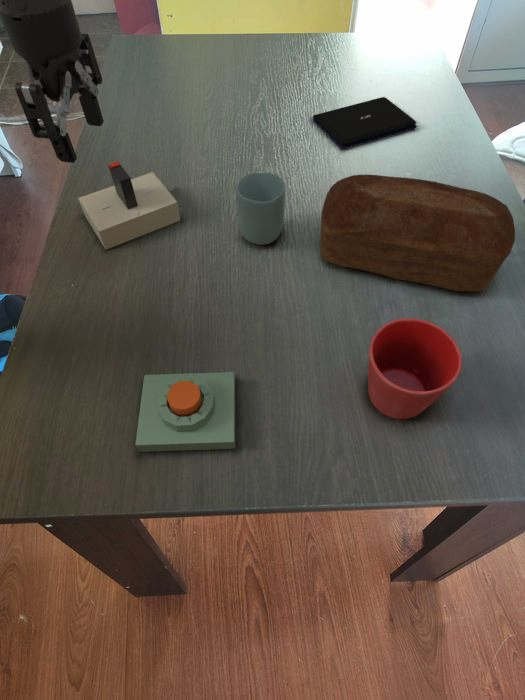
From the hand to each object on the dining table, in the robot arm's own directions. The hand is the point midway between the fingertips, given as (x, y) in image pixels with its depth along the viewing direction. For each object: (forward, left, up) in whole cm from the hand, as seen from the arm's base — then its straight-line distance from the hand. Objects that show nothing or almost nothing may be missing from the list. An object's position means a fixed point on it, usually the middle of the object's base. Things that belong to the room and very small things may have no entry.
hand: (82, 142), depth 62 cm
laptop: (+59, +9, -20) cm, 63 cm away
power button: (-4, -33, -16) cm, 37 cm away
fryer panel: (+5, +7, -20) cm, 22 cm away
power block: (-4, -33, -20) cm, 39 cm away
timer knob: (+5, +7, -16) cm, 18 cm away
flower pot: (+21, -45, -20) cm, 54 cm away
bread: (+39, -26, -20) cm, 51 cm away
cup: (+22, -9, -20) cm, 31 cm away
